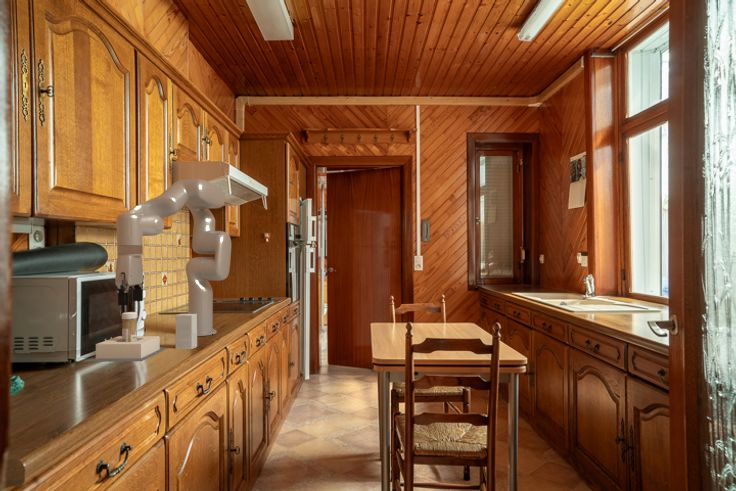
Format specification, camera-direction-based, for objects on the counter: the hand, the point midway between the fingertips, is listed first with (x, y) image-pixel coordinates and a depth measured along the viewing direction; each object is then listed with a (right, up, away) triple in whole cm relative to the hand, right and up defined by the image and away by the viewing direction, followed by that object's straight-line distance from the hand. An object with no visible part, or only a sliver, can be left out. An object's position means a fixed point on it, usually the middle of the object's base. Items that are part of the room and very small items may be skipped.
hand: (131, 303), depth 157 cm
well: (0, -17, -1) cm, 17 cm away
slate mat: (0, -17, -2) cm, 17 cm away
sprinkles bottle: (0, -17, -1) cm, 17 cm away
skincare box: (+15, -17, +9) cm, 25 cm away
